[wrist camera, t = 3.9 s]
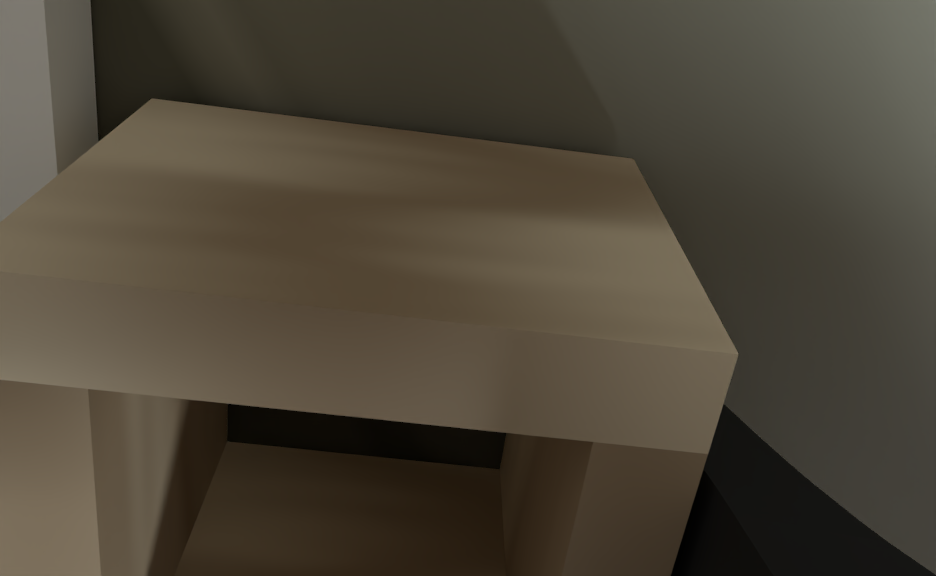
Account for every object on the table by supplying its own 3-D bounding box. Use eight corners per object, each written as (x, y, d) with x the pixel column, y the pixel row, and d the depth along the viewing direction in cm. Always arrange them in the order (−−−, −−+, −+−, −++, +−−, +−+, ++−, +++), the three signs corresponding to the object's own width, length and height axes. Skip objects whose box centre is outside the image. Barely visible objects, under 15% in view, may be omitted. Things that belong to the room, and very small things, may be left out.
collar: (633, 159, 11) (738, 354, 6) (551, 525, 13) (591, 831, 9) (152, 98, 10) (-52, 264, 6) (162, 486, 13) (21, 787, 9)
